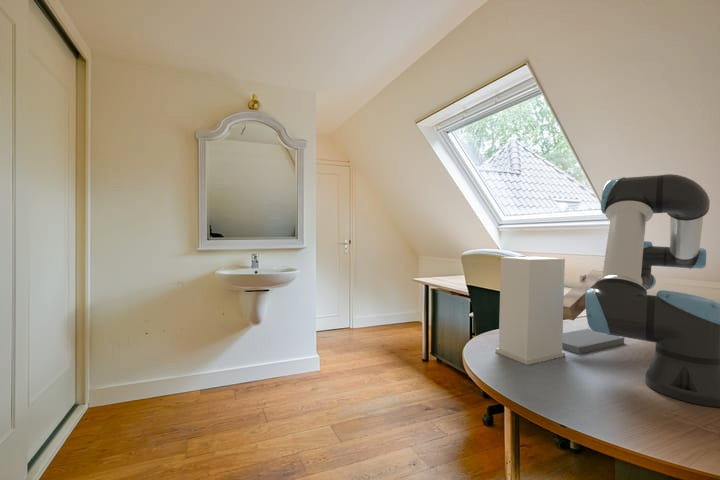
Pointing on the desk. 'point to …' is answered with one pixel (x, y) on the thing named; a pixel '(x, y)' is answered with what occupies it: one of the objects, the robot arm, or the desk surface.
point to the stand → (531, 308)
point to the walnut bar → (579, 295)
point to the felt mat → (588, 340)
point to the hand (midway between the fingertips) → (589, 280)
